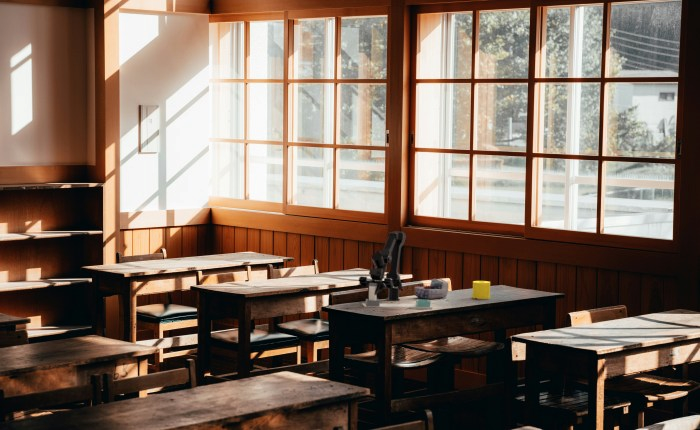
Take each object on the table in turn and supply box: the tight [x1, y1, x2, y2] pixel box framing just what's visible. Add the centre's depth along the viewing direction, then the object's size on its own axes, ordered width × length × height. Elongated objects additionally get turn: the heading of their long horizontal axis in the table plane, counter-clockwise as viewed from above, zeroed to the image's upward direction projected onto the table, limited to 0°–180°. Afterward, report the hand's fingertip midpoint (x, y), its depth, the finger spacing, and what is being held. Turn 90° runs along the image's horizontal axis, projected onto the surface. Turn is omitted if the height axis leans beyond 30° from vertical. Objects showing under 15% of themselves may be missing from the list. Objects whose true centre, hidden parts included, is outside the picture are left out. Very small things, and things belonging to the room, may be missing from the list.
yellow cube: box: [472, 280, 491, 300], centre depth 620 cm, size 10×10×9 cm
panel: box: [362, 298, 433, 310], centre depth 576 cm, size 12×37×4 cm, turn 94°
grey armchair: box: [414, 278, 449, 300], centre depth 616 cm, size 13×11×20 cm
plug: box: [368, 283, 378, 300], centre depth 574 cm, size 3×3×12 cm
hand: (371, 294), depth 572 cm, fingers closed on plug, 3 cm apart
